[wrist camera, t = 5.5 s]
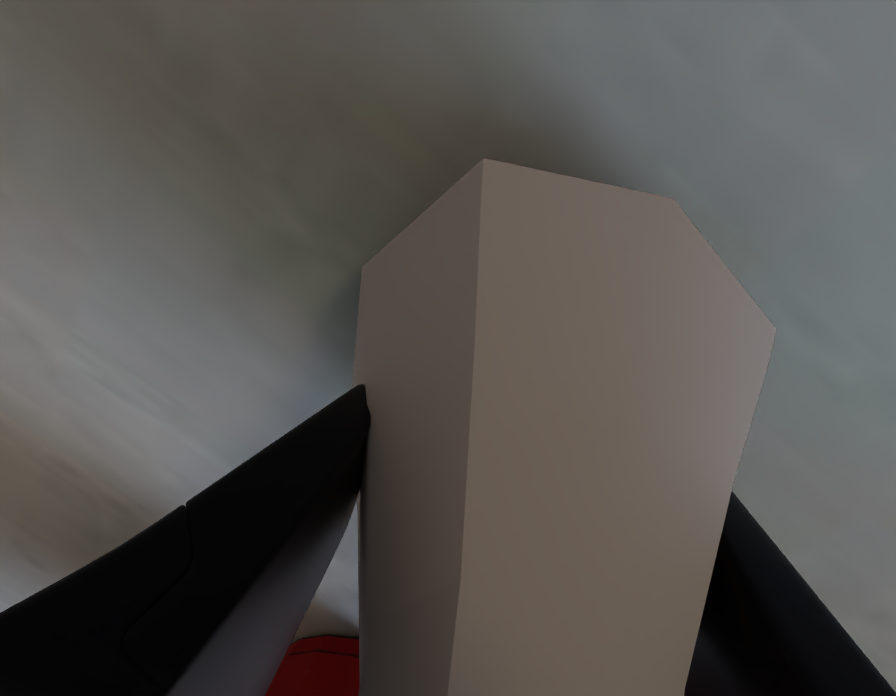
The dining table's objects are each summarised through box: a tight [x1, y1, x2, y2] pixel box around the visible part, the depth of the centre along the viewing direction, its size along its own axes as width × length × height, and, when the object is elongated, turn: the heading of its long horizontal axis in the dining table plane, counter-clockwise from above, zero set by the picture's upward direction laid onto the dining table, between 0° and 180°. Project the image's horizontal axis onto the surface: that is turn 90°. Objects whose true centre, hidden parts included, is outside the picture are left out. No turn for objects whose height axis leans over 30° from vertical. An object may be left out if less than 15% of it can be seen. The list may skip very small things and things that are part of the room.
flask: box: [352, 158, 777, 696], centre depth 7 cm, size 7×7×10 cm
